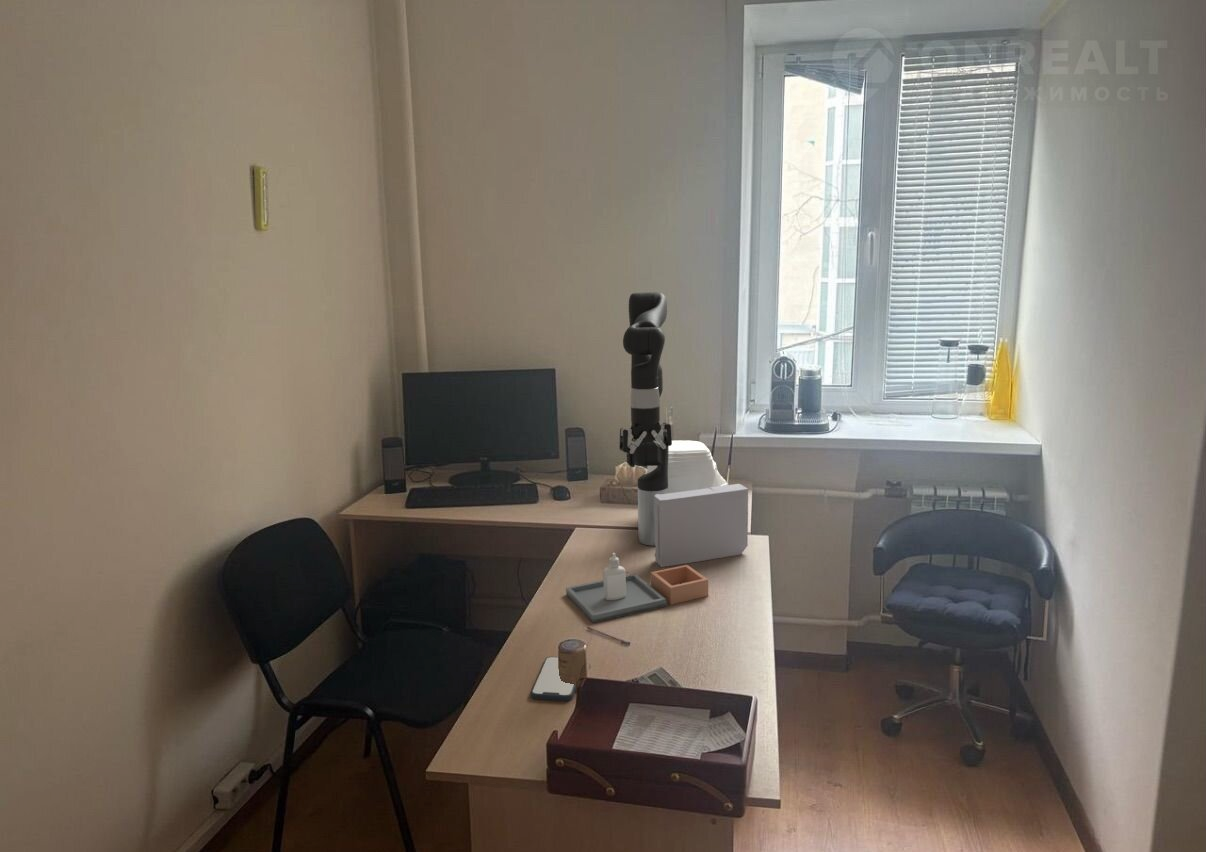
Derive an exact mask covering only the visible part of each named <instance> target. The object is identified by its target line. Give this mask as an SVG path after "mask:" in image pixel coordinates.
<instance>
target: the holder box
mask: <svg viewBox="0 0 1206 852" xmlns="http://www.w3.org/2000/svg"><path fill="white" fill-rule="evenodd" d="M680 583H681V584H680ZM650 586H651V587H652V588H653V589H655V590H656V591H657V592H658V593H659V594H661V595H662V596H663V597H664V598H666V603H668V604H669V605H675V604H679V603H683V602H687V601H692V600H696V599H700V598H705V597H708V596H709V579H708V578H707V577H705V576H704V575H703V574H701V573H699V572H698V571H697V570H695V569H694V568H693V567H691V566H689V565H688V564H682V565H680V566H679V565H678V566H675V567H674V566H673V567H669V568H666V569H661V570H655V571H651V572H650Z"/></svg>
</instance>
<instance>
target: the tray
mask: <svg viewBox="0 0 1206 852" xmlns="http://www.w3.org/2000/svg"><path fill="white" fill-rule="evenodd" d="M565 592H566V593H565V594H566V596H567V598H569V600H571V601H572V602H573V604H574V605H575V606H576V607H577V608H578V609H579V610H580V611H581V612H582V613H583V614H584V615H585V616H586V617H587V619H589V620H590V621H591V623H592V624H596V623H600V622H604V621H608V620H613V619H618V618H622V617H625V616H630V615H635V614H639V613H643V612H649V611H652V610H653V611H654V610H657V609H661V608H666V607H667V601H666V598H664V597H663V596H662V595H661V594H659V593H658V592H657V591H656V590H655V589H653V588H652V587H651V584H648V582H646V581H645V580H643V578H641V577H640V576H639V575H637V574H636V573H631V574H626V596H625V597H624V598H622V599H618V600H606V599H605V597H604V580H603V579H602V580H597V581H592V582H587V583H581V584H578V585H573V586H567V587H565Z"/></svg>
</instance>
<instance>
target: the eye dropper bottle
mask: <svg viewBox="0 0 1206 852" xmlns="http://www.w3.org/2000/svg"><path fill="white" fill-rule="evenodd" d="M611 555H612V556H611V557H609V559H608V562H609V566H607V567H606V568H605V569H604V570H603V574H602V575H603V577H602V578H603V579H602V580H604V597H605V599H606V600H618V599H622V598H624V597H625V596H626V575H627V574H626V569H625V567H624V566H621V565H620V558H619V557H617V556H616V553H615V552H612V554H611Z"/></svg>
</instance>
